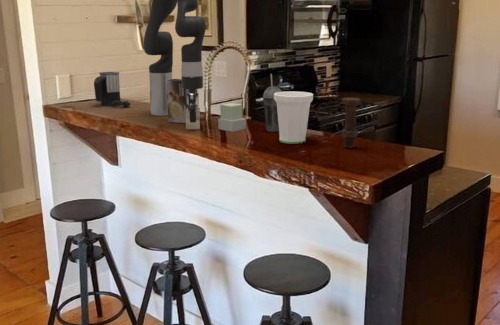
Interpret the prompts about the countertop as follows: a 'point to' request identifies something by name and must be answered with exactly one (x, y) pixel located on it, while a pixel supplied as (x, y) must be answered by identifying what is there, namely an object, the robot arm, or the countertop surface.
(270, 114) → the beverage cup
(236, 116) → the sage cube
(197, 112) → the birch block
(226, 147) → the countertop surface
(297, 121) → the cup
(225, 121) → the slab
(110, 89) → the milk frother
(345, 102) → the bolt
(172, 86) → the coffee box
